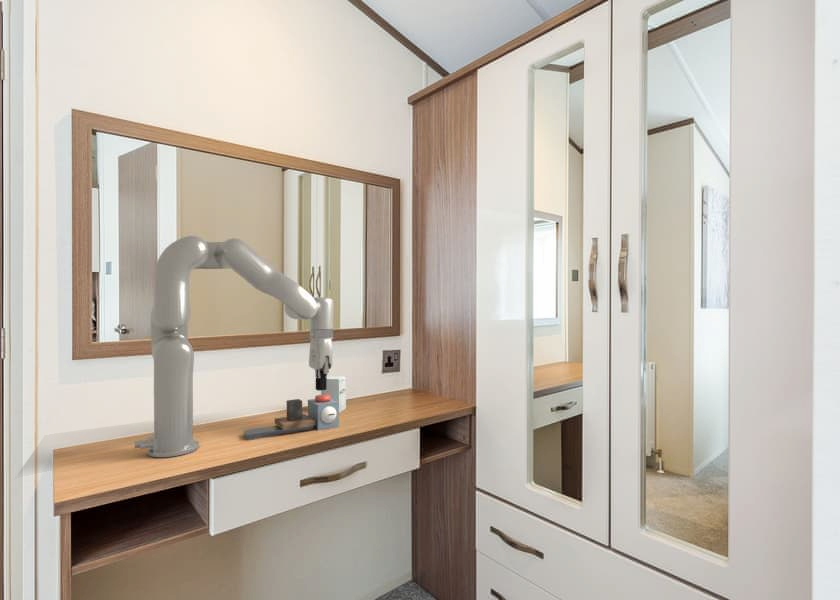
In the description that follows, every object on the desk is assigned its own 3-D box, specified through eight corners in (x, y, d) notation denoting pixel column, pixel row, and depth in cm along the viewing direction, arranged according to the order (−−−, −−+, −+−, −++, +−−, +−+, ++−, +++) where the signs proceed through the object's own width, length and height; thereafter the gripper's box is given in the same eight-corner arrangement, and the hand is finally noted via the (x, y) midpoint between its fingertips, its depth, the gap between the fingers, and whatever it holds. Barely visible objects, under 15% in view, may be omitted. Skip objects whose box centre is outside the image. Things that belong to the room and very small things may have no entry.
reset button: (318, 402, 145) (318, 398, 145) (313, 400, 149) (313, 395, 149) (332, 400, 148) (332, 396, 148) (327, 398, 152) (327, 393, 152)
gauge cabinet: (318, 430, 142) (318, 405, 142) (307, 423, 151) (307, 399, 151) (339, 427, 146) (339, 402, 146) (327, 420, 154) (327, 397, 154)
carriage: (283, 430, 136) (283, 405, 136) (274, 423, 145) (274, 399, 145) (315, 425, 142) (314, 401, 142) (304, 418, 150) (304, 396, 150)
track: (247, 440, 133) (247, 435, 133) (243, 435, 138) (243, 430, 138) (313, 429, 143) (313, 424, 143) (306, 425, 148) (306, 420, 148)
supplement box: (339, 413, 164) (339, 379, 164) (320, 412, 165) (320, 378, 166) (346, 408, 171) (346, 375, 171) (328, 408, 173) (328, 375, 173)
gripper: (303, 333, 153) (302, 387, 152) (318, 335, 140) (317, 394, 140) (324, 333, 157) (323, 385, 156) (341, 335, 144) (340, 392, 144)
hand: (320, 389), depth 148 cm, fingers closed
